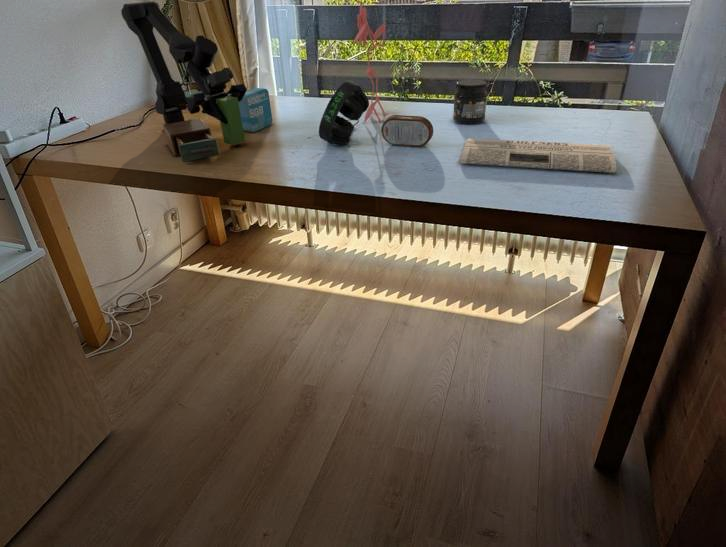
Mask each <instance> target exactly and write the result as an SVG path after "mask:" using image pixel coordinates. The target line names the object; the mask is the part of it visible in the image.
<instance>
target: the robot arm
mask: <svg viewBox="0 0 726 547" xmlns="http://www.w3.org/2000/svg"><path fill="white" fill-rule="evenodd" d="M120 12H121V17H122V19H123V20H124V21H125V24H126V26H127V28H128V29H129V30H130V31H131V32H132V33H134V34H135V36H136V37H137V38H138V40H139V42H140V45H141V47H142V50H143V52H144V54H145V57H146V60H147V62H148V64H149V66H150V69H151V72H152V74H153V76H154V80H155V81H156V87H155V95H156V97H157V98H156V101H155V104H154V109H155V111H156V113H157V114H159V115H162V117H163V121H164V124H169V123H175V122H181V121H186V119H185V116H184V113H183V111H185V110H187V111H188V113H189V114H190V115H193V114H198V113H200V111H201V113H202V114H205V115H208V116H210V117H212V118H214V119H216V120H218V121H219V122H220V121H221V122H223V123H225V124H227V123H228V121H227V119H226V117H225V116H224V114H223V113H222V112H221V110H220V109H219V107H218V106H217V102H216V99H218V98H222V97H226V96H231V97H236V98H238V102H240V101H241V100H242V99H243V97H244V95H245V93H246V91H248V88H247V86H246V85H245V84H244V83H242V82H240V83H236V84H231V86H230V88H229V90H226V88H227V83H230V82H231V81H232V79H233V78H234V74H233V73H234V72H232V70H231V69H230V67H228V66H227V67H223V69H221V70H217V71H214V72H212V71H211V70H210V68H211V67H212V65H213V63H214V61H215V58H216V56H217V53H218V49H219V48H218V45H217V43H215V42H214V41H213V40H211V39H210V38H207V37H205V36H204V35H203V34H201V35H196V37H195V41H194V40H193V39H192V38H191V37H190V36H188V35H186V34H185V33H182V32H180V31H179V29H178V27H176V26H175V24H174V23H173V22H172V21H171V20H170V19H169V17H167V15H166V14H165V13H164V12H163V11H162V9H161V7H160V4H159V3H158V2H157V1H143V2H131V3H124V4H123V6H122V8H121V10H120ZM154 29H155V30H156V31H157V32H158V34H159V35H160V36H161V37H162V39H163V40H164V41H165V43H167V45H168V52H169V54H170V55H171V57H172V59H173V60H174V61H175V62H176V63H177V64H180V65H181V64H187V66H185V72H184V73H185V77H186V78H189V77H190V78H191V79H192V80H193V82H194V83H195V85H196V91H197V92H196V93H192V94H190V96H189V98H188V101H187V96H186V93H185V91H184V89H183V86H182V83H181V82H180V81H179V80H177V81H176V80H175V79H173V77H172V75H171V72H170V70H169V68H168V65H167V63H166V60H165V58H164V56H163V53H162V50H161V47H160V46H159V43H158V41H157V38H156V35H155V34H154ZM225 90H226V91H225ZM201 109H202V110H201ZM162 131H163V132H164V128H162Z"/></svg>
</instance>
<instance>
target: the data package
mask: <svg viewBox="0 0 726 547" xmlns="http://www.w3.org/2000/svg"><path fill="white" fill-rule="evenodd" d="M238 103H239V109H240V115H241V121H242V127H243V132H246V133H247V132H248V133H255V132H258V131H260V130H262V129H265V128H267V127H269V126H271V125H272V124H273V114H272V107H271V101H270V93H269V90H268V89H267V88H263V87H254V88H251V89H247V91H246V93H245V95H244V97H243V99H242V100H241V101H240V102H238Z"/></svg>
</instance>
